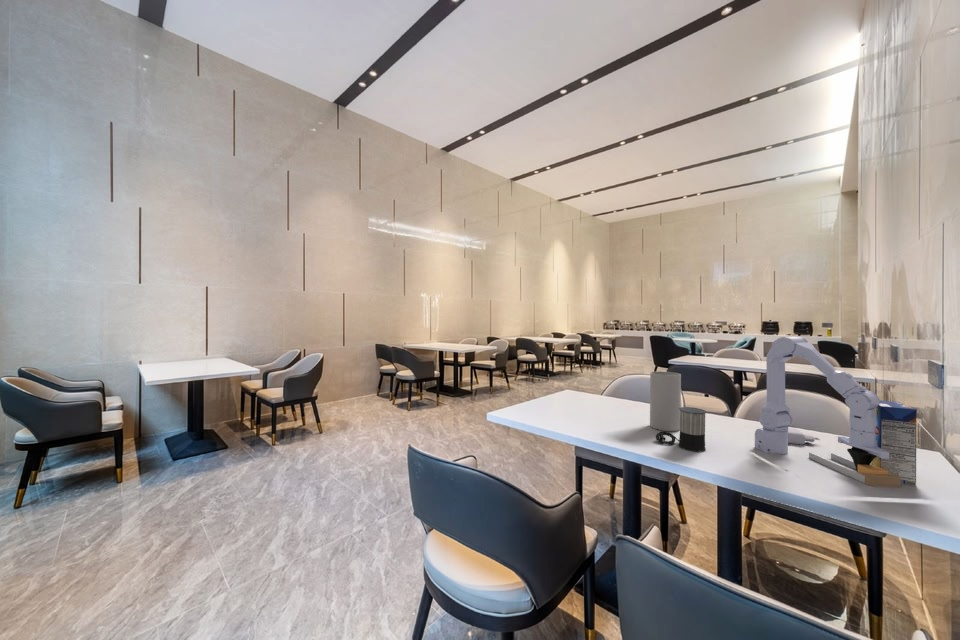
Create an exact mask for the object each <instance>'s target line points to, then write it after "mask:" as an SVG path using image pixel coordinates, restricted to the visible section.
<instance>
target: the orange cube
mask: <svg viewBox="0 0 960 640" xmlns="http://www.w3.org/2000/svg"><path fill="white" fill-rule="evenodd" d="M858 473H860V474H862V475H865V474H888V471H887V470H884V469H882V468H879V467H877V466H874V465H858Z"/></svg>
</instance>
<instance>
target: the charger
mask: <svg viewBox="0 0 960 640" xmlns="http://www.w3.org/2000/svg"><path fill="white" fill-rule="evenodd" d="M820 440H821V439H820V438H819V437H815V436H813V435H812V434H809V433H808V434H807V433H806V434H805V433H803V432H802V431H801V430H799V429H798V428H792V427H788V444H791V443H792V445H799V444H800V445H801V446H803V445H805V443H806V442H808V443H809V442H811V443H814V442H815V441H820Z"/></svg>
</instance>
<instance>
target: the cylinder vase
mask: <svg viewBox="0 0 960 640" xmlns="http://www.w3.org/2000/svg"><path fill="white" fill-rule="evenodd" d="M649 378H650V380H649V382H650V385H649V386H650V388H649V393H650V394H649V397H650V398H649V426H650V428H652V429H654V430H657V429H658V431H665V432H678V431H680V410H679V408H681V407H682V406H681V404H682V403H681V402H682V401H681V400H682V397H681V396H682V387H681V386H682V380H681V379H682V374H681V373H678V372H671V371H651V372H650V377H649Z"/></svg>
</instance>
